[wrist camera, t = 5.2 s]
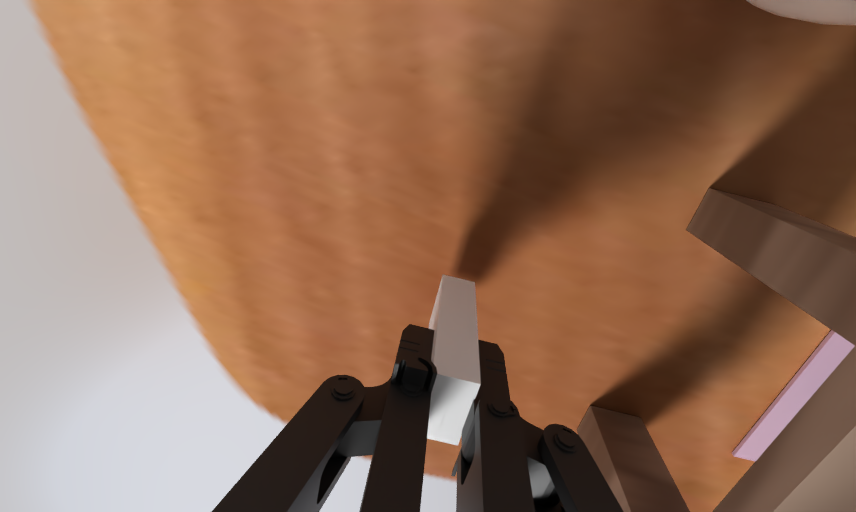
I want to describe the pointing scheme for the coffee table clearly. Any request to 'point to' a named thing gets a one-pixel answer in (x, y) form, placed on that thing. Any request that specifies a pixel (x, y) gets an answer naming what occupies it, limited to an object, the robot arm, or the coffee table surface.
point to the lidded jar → (812, 10)
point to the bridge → (814, 423)
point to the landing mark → (794, 396)
